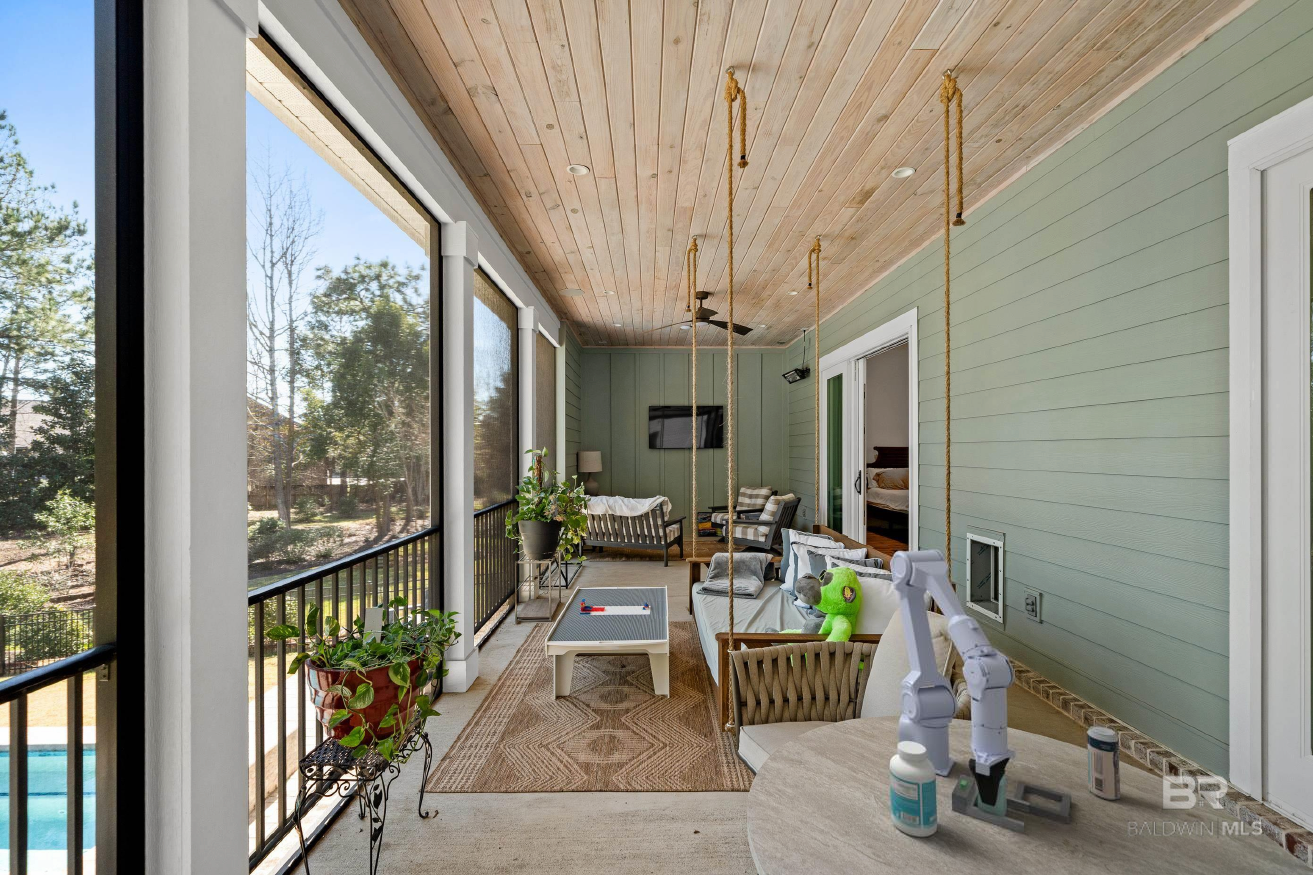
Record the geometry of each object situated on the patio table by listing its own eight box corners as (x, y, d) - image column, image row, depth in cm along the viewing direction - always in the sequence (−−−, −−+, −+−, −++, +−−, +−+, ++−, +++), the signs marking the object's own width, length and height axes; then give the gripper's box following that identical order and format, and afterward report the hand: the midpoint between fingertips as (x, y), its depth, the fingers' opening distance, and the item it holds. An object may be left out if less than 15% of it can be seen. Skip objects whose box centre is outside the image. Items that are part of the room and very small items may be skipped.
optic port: (952, 809, 108) (951, 789, 108) (961, 789, 114) (961, 770, 114) (1024, 833, 101) (1023, 812, 101) (1029, 811, 107) (1029, 791, 107)
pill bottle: (925, 812, 107) (924, 736, 107) (945, 839, 100) (943, 757, 100) (884, 812, 107) (882, 736, 107) (900, 839, 100) (899, 757, 100)
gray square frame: (1012, 806, 109) (1012, 799, 109) (1018, 786, 115) (1018, 780, 115) (1067, 823, 103) (1067, 816, 103) (1071, 801, 110) (1071, 795, 110)
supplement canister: (1125, 802, 110) (1124, 737, 110) (1096, 800, 110) (1095, 734, 111) (1111, 788, 114) (1109, 725, 115) (1083, 785, 115) (1082, 723, 116)
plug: (977, 811, 107) (977, 773, 107) (982, 801, 110) (981, 764, 110) (1003, 819, 104) (1002, 780, 105) (1006, 809, 108) (1005, 771, 108)
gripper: (1008, 743, 100) (1010, 825, 99) (1019, 713, 111) (1021, 787, 111) (962, 731, 104) (963, 810, 104) (977, 704, 115) (979, 774, 115)
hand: (990, 797), depth 107 cm, fingers closed on plug, 4 cm apart
